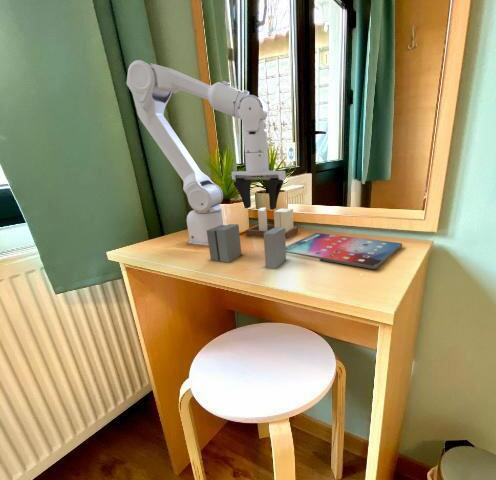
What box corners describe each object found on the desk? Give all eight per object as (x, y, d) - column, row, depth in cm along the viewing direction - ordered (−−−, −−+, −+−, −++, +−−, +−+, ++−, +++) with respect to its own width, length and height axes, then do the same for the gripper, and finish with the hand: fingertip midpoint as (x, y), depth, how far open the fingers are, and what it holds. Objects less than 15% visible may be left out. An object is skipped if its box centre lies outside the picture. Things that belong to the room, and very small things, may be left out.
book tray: (246, 237, 90) (245, 230, 89) (259, 230, 96) (259, 223, 96) (286, 240, 85) (286, 233, 84) (298, 233, 91) (297, 226, 91)
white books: (274, 235, 87) (273, 211, 85) (282, 231, 92) (281, 208, 89) (286, 236, 86) (285, 212, 83) (293, 232, 90) (293, 208, 87)
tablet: (316, 234, 89) (316, 232, 88) (403, 246, 75) (403, 243, 75) (277, 252, 75) (277, 249, 74) (376, 271, 61) (376, 267, 61)
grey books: (210, 260, 71) (206, 228, 68) (224, 253, 76) (220, 223, 73) (275, 268, 65) (273, 234, 62) (286, 260, 69) (285, 227, 66)
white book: (259, 234, 89) (257, 210, 86) (261, 230, 94) (260, 207, 91) (265, 234, 89) (263, 210, 86) (267, 230, 94) (266, 207, 91)
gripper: (289, 151, 75) (291, 206, 80) (239, 153, 80) (244, 204, 86) (277, 151, 69) (280, 211, 74) (224, 153, 75) (230, 209, 80)
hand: (260, 208), depth 80 cm, fingers open, 7 cm apart
